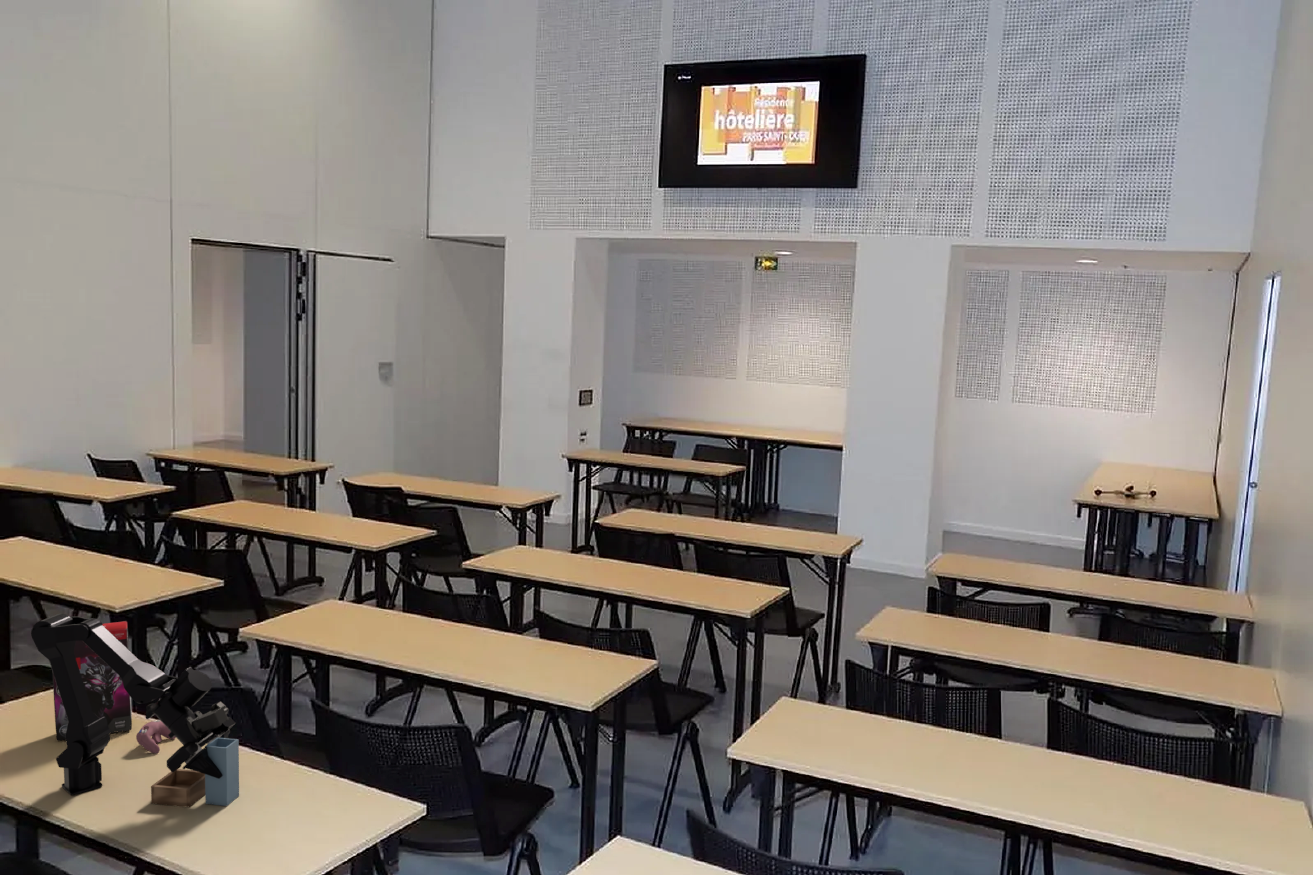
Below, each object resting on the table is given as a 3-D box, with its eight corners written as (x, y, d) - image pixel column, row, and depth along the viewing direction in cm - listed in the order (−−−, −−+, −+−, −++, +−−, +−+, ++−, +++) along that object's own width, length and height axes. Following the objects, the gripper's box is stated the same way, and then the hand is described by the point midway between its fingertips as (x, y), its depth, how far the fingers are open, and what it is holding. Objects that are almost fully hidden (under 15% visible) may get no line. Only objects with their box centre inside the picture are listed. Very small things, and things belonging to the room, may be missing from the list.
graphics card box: (54, 743, 255) (49, 635, 252) (55, 732, 261) (51, 627, 258) (132, 732, 263) (128, 627, 260) (131, 722, 269) (128, 619, 266)
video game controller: (163, 743, 261) (150, 719, 260) (179, 736, 260) (166, 711, 260) (143, 760, 251) (129, 735, 250) (159, 752, 250) (145, 727, 250)
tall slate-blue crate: (205, 803, 226) (204, 746, 225) (218, 793, 231) (217, 737, 230) (227, 806, 226) (226, 748, 224) (239, 795, 231) (238, 739, 229)
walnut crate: (151, 803, 226) (150, 786, 225) (175, 785, 235) (175, 768, 234) (189, 807, 225) (189, 789, 224) (212, 789, 234) (212, 772, 233)
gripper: (178, 712, 217) (229, 767, 217) (226, 681, 235) (273, 732, 235) (144, 745, 219) (194, 799, 219) (194, 712, 237) (241, 762, 237)
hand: (227, 771), depth 228 cm, fingers closed on tall slate-blue crate, 5 cm apart
